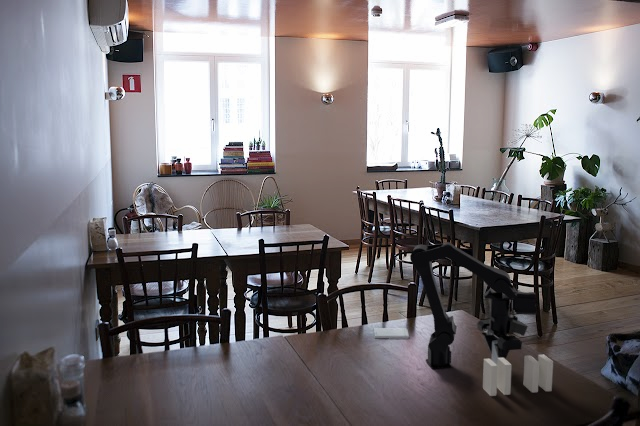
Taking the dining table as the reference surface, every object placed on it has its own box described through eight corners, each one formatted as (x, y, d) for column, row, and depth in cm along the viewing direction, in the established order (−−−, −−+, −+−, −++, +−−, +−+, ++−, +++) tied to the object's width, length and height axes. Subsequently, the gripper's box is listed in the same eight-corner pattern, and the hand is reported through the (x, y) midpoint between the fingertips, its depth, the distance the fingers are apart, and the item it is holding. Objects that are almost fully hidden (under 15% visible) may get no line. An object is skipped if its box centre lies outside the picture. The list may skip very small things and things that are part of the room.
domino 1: (490, 396, 157) (491, 366, 156) (482, 388, 162) (483, 358, 161) (496, 395, 158) (497, 365, 156) (488, 387, 163) (489, 358, 161)
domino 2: (498, 374, 171) (499, 346, 169) (491, 367, 176) (492, 340, 174) (503, 374, 171) (504, 346, 170) (496, 367, 176) (497, 340, 174)
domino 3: (504, 394, 158) (505, 365, 157) (496, 386, 163) (497, 357, 161) (510, 394, 158) (511, 364, 157) (502, 386, 163) (503, 357, 162)
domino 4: (532, 392, 159) (533, 362, 158) (523, 384, 164) (524, 355, 163) (537, 392, 159) (539, 362, 158) (529, 384, 164) (530, 355, 163)
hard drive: (374, 335, 201) (409, 335, 200) (373, 327, 209) (406, 327, 208) (374, 340, 201) (409, 340, 200) (373, 331, 209) (406, 331, 209)
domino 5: (545, 391, 160) (547, 361, 158) (536, 383, 165) (538, 354, 163) (551, 390, 160) (553, 361, 159) (542, 383, 165) (543, 354, 163)
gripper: (540, 321, 162) (537, 371, 165) (509, 301, 181) (508, 347, 183) (504, 323, 161) (502, 374, 163) (477, 303, 179) (475, 349, 182)
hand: (497, 360), depth 173 cm, fingers closed on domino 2, 5 cm apart
